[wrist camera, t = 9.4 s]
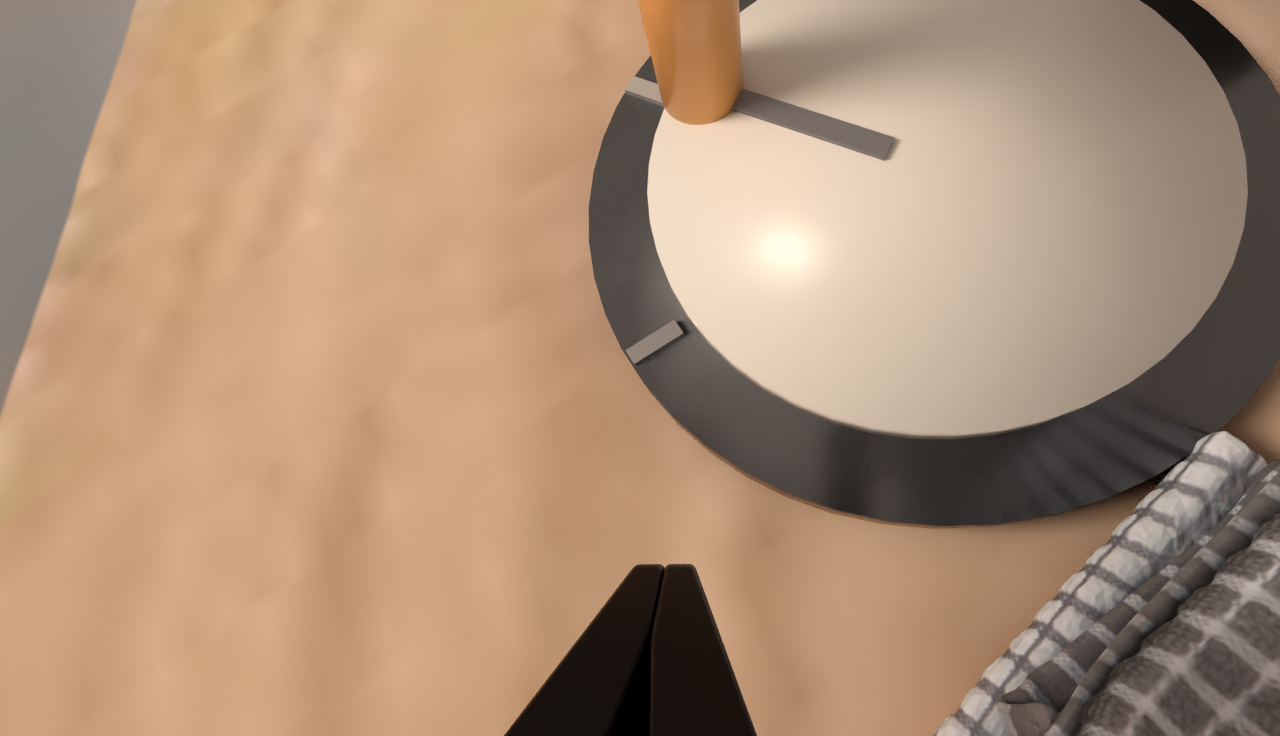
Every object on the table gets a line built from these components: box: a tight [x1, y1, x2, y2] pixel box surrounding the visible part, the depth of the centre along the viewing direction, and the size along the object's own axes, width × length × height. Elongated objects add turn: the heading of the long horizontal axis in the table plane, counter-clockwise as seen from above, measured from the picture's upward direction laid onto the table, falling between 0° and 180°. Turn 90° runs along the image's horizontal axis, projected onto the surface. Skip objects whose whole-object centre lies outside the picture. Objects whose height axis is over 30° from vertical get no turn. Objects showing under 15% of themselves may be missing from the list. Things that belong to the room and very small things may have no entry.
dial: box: [638, 0, 1248, 440], centre depth 15 cm, size 18×18×13 cm
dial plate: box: [589, 0, 1280, 528], centre depth 22 cm, size 23×23×2 cm
